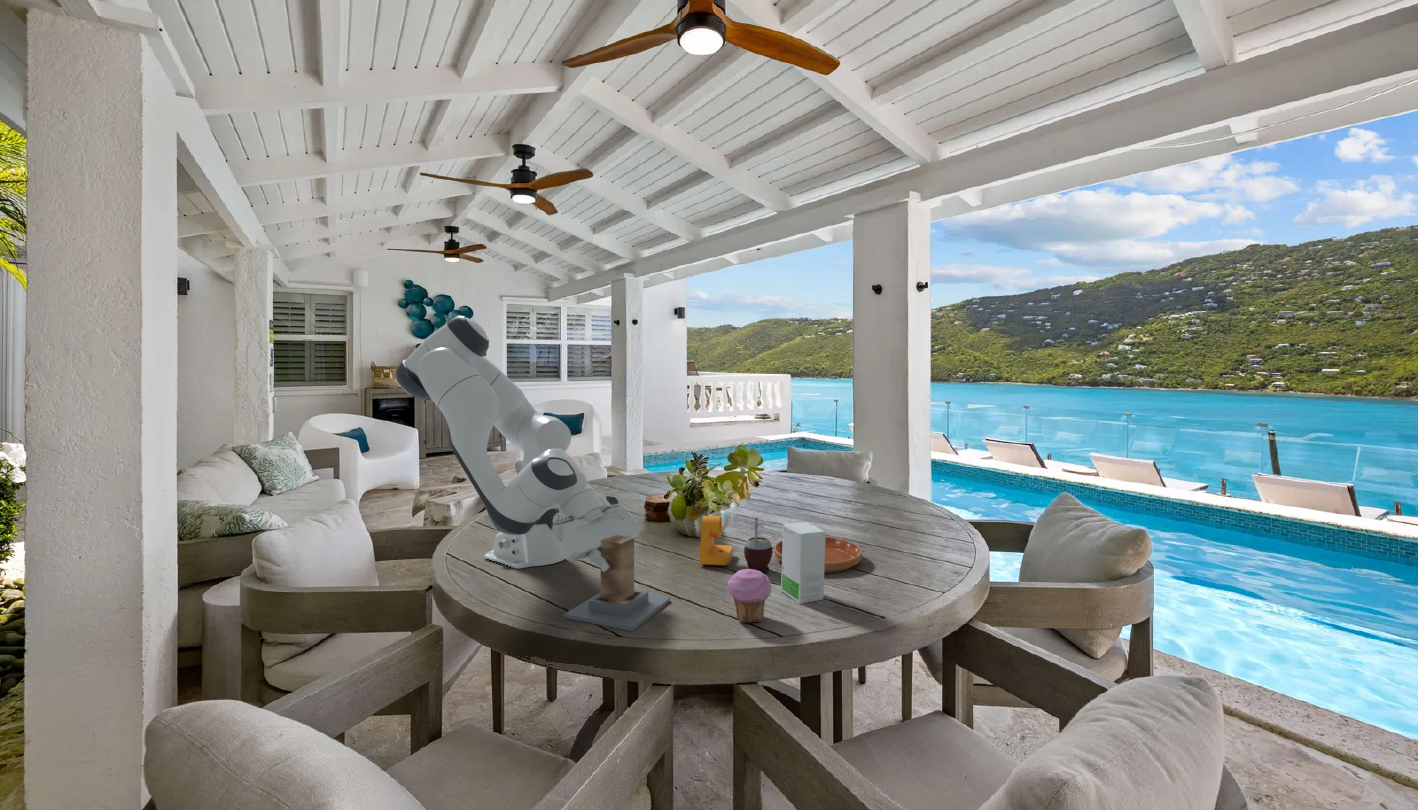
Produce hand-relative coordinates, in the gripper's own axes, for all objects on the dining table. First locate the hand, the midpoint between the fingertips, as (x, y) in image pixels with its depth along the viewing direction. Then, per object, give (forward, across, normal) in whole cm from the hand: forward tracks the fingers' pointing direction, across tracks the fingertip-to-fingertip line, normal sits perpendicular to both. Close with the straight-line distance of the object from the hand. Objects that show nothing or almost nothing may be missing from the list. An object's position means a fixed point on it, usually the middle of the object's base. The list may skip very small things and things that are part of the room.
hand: (619, 564), depth 120 cm
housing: (+6, 0, +7) cm, 10 cm away
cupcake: (+25, +11, -11) cm, 29 cm away
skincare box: (+28, +28, -14) cm, 42 cm away
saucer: (+23, +52, -10) cm, 58 cm away
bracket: (+7, +38, +6) cm, 39 cm away
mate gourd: (+17, +36, -3) cm, 40 cm away
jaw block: (+4, 0, +5) cm, 7 cm away
